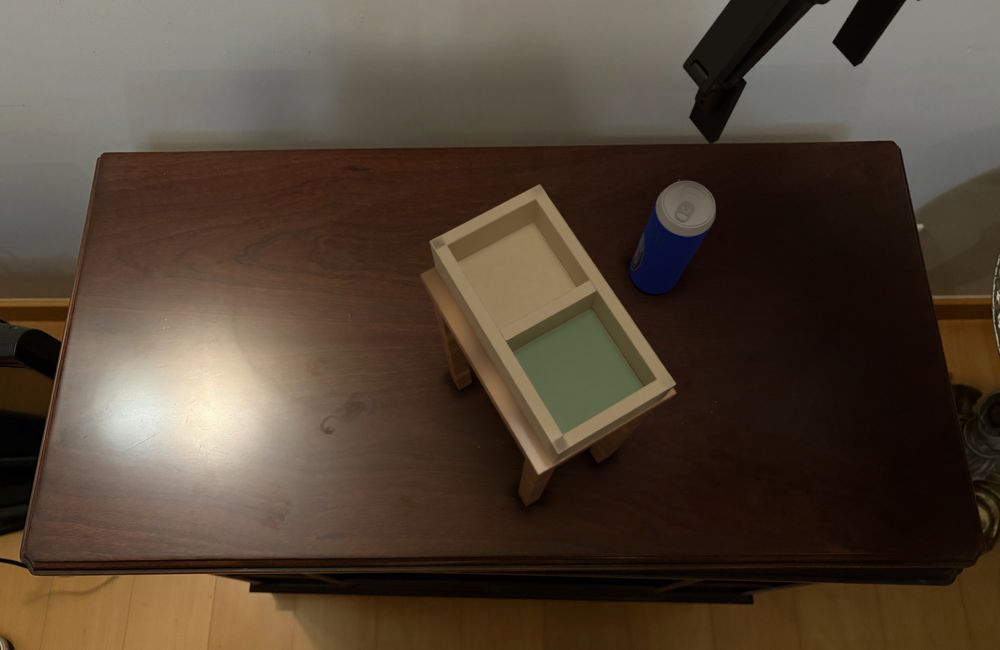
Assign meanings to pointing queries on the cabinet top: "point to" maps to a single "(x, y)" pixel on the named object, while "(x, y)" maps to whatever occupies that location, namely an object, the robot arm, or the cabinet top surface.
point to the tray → (549, 322)
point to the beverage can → (672, 236)
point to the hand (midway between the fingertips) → (776, 90)
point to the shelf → (467, 350)
